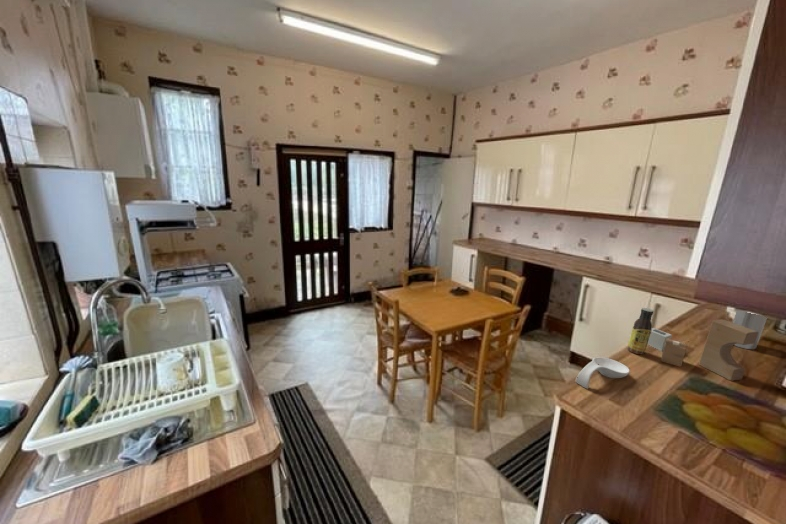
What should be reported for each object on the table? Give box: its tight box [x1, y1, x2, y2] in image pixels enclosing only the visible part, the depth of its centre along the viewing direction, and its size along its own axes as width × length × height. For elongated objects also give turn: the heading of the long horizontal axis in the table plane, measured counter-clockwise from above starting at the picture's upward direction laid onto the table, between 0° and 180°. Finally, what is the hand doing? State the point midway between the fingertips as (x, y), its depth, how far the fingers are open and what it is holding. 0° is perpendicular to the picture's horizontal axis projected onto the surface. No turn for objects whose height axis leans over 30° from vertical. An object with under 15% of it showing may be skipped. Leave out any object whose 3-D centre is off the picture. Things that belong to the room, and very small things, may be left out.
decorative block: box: [698, 318, 758, 382], centre depth 120 cm, size 11×6×20 cm, turn 11°
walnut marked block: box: [661, 338, 687, 368], centre depth 128 cm, size 6×6×8 cm
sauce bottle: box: [626, 307, 655, 355], centre depth 133 cm, size 7×6×20 cm
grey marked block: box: [647, 327, 672, 352], centre depth 140 cm, size 5×7×7 cm
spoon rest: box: [574, 356, 631, 390], centre depth 117 cm, size 24×12×7 cm, turn 118°
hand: (740, 306), depth 115 cm, fingers closed
